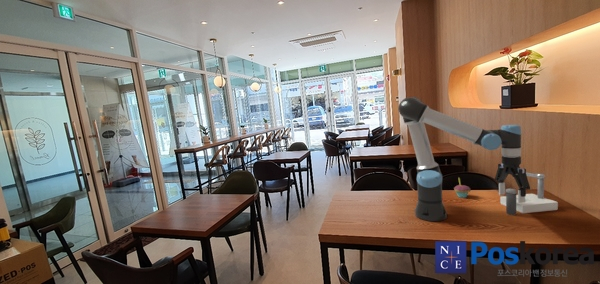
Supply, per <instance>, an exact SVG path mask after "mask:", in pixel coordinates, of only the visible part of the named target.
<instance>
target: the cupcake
mask: <svg viewBox="0 0 600 284" xmlns="http://www.w3.org/2000/svg"><path fill="white" fill-rule="evenodd" d="M458 183H459V184H458V185H456V186H454V187H453V189H454V192H455V193H456V195H457V197H459V198H464V199H465V198H467V197H468V194H469V193H470V192H471V187H470V186H467V185H465V184H461V178H460V177H458Z"/></svg>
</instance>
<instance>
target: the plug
mask: <svg viewBox="0 0 600 284" xmlns="http://www.w3.org/2000/svg"><path fill="white" fill-rule="evenodd" d="M516 195H518V189H515V188H505V196H506V206H505V208H506V209H505V210H506V211H505V212H506V213H505V214H507V215H510V216H516V215H517V211H516Z"/></svg>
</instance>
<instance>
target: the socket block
mask: <svg viewBox="0 0 600 284" xmlns="http://www.w3.org/2000/svg"><path fill="white" fill-rule="evenodd" d="M544 193H545V179H539V178H537V194H535V193H526V196H525V202H524V203H518V194H516V212H519V213H521V214H528V213H538V212H540V213H541V212H548V211H557V210H558V207H559V203H558V201H555V200H553V199H549V198H547V197H545V196H544ZM499 197H500V203H499V204H501V205H502V206H505V207H506V195H502V196H499Z"/></svg>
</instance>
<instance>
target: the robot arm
mask: <svg viewBox="0 0 600 284" xmlns="http://www.w3.org/2000/svg"><path fill="white" fill-rule="evenodd" d="M398 113H399V115H400V116H401V117H402V119H403V123H404V124H405V125H407V127H408V131H409V135H410V138H411V141H412V142H411V143H412V147H413V149H414V153H415V157H416V161H417V166H416V172H417V174H416V185H417V186H416V187H417V203H416V206H415V209H414V215H415V216H416V218H417V219H420V220H423V221H427V222H429V221H430V222H440V221H444V220H446V219H447V218H448V217H447V213H448V212H447V210H446V208H445V206H444V203H443V174H442V172H441V169H440V166H439V163H437V162H436V161H435V159H434V158H435V157H434V155H433V150H432V147H431V143H430V140H429V136H428V132H427V129H426V125H425V124H427V125H429V126H432V127H434V128H436V129H439V130H441V131H444V132H446V133H449V134H452V135H453V136H456V137H459V138H461V139H463V140H466V141H468V142H471V143H473V144H474V146H475V145H476V146H480V147H482V148H483V149H486V150H487V151H488V150H489V151H494V150H497V149H499V148H500V147H501V149H500V150H501V163H498V164H497V170H496V174H495V176H494V181H496V182H497V188H498V196H506V182H505V180H507V177H508V176H509V175H511V176H512V178H514V180H515V182H516V184H517V186H518V189H517V195H518V203H524V202H525V196H526V194H527V191H529V190H531V186H530V182H529V179H528V176H527V175H526V172H527V169H526V168H521V167H520V165H522V156H521V155H522V135H523V134H522V127H521V125H518V124H503V125H501V127H500V129H484V128H481V127H478V126H475V125H474V124H471V123H468V122H465V121H463V120H460V119H458V118H455V117H453V116H450V115H448V114H446V113H443V112H440V111H438V110H434V109H433V108H431V107H429V105H427V104H425V103H423V101H422V100H421V99H420V98H418V97H414V96H411V97H406V98H404V99H402V100H401V101H400V102H399V104H398Z"/></svg>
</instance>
